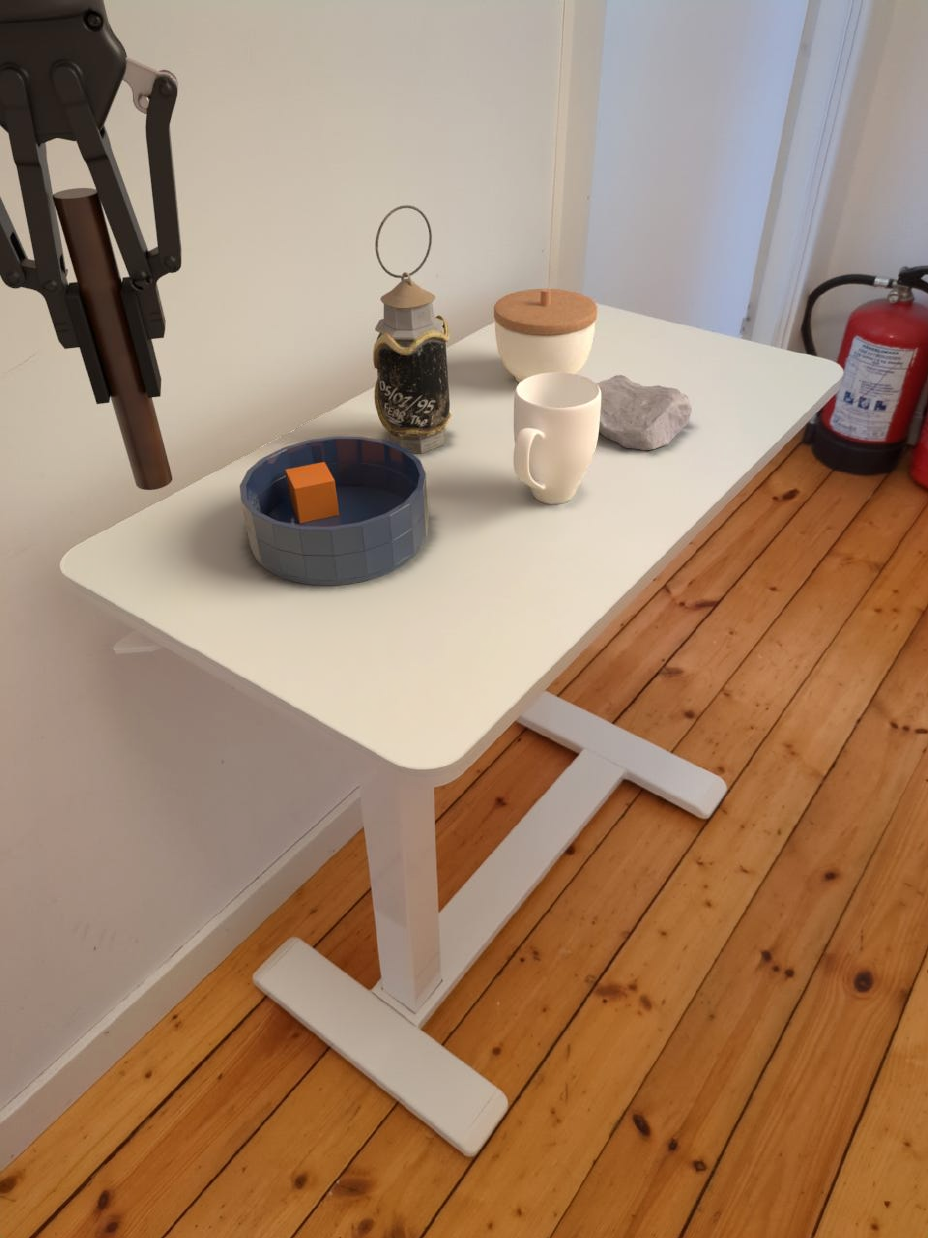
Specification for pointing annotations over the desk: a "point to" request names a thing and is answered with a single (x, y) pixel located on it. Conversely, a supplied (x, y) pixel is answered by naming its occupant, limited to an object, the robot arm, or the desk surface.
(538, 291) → the lidded bowl
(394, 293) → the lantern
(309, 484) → the block
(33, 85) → the robot arm
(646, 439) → the stone block
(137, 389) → the stick
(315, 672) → the desk surface
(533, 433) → the mug
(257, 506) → the stir bowl
